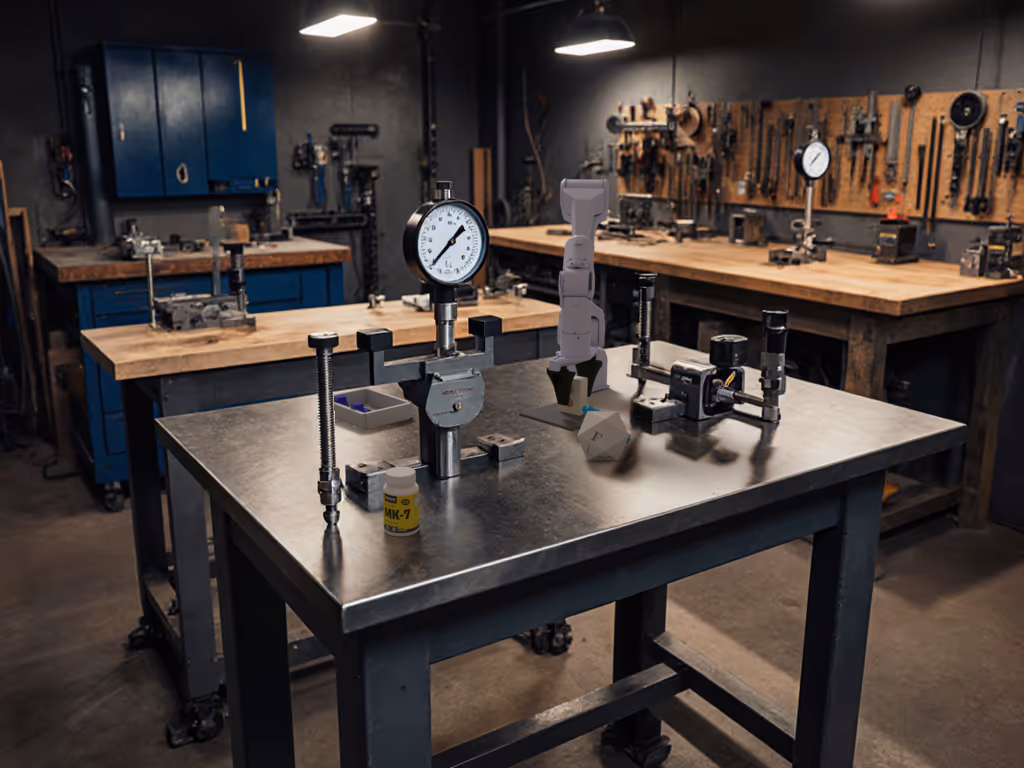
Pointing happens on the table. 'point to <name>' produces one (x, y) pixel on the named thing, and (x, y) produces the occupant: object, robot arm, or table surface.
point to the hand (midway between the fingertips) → (574, 400)
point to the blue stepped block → (357, 406)
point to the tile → (576, 396)
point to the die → (602, 436)
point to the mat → (555, 417)
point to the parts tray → (390, 413)
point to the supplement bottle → (401, 502)
